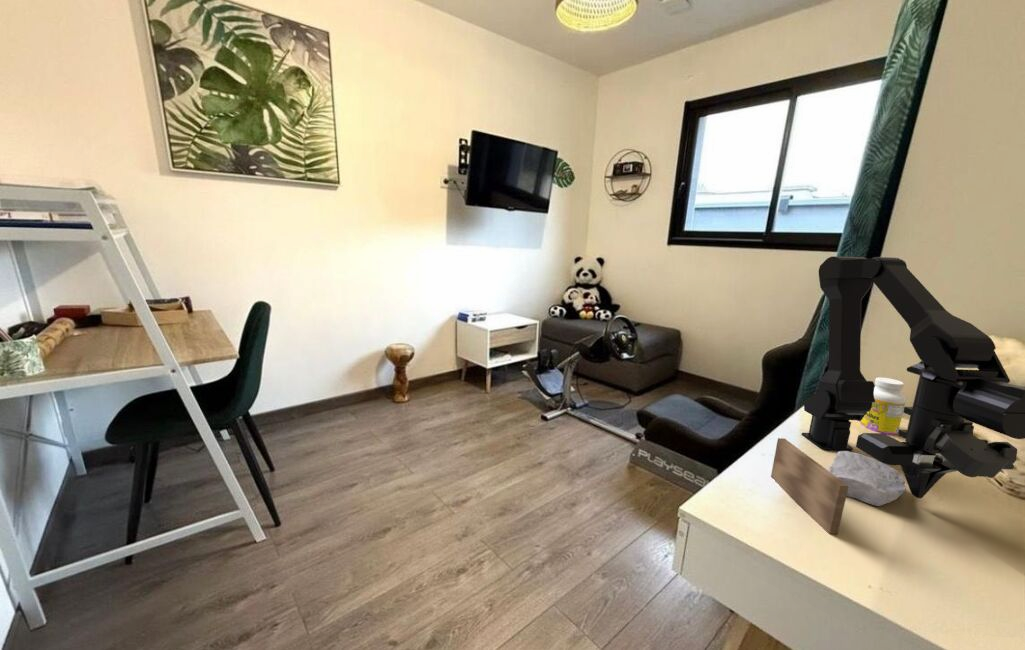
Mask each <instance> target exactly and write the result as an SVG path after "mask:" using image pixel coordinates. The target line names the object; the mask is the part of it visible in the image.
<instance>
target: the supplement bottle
mask: <svg viewBox="0 0 1025 650" xmlns="http://www.w3.org/2000/svg"><path fill="white" fill-rule="evenodd" d="M874 385H875V387H874V399H875V402H872V408H871V410H870V411H868V412H867V413H866V414H865V416H864V417H863V418H862V420H861V421H859V423H860V425H861V426H862V427H864V428H866V429H867V430H870V431H873V432H874V433H884V434H886V435H888V436H894V435H898V433H899V430H900V426H901V422H902V418H903V414H904V407H906V403H907V397H906V395H904V393H902V392H901V391H902V390H903V389H904V385H905V383H904V382H903V381H901V380H899V379H898V380H897V379H893V378H889V377H876V378H875V380H874Z"/></svg>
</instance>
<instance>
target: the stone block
mask: <svg viewBox="0 0 1025 650" xmlns="http://www.w3.org/2000/svg"><path fill="white" fill-rule="evenodd" d="M832 461H833V462H832V464H831V465H830V466H829V467H828V469H827V470H828V471H829V472H831V473H832V474H833V475H835V476H836V477H837V478H839V479H840V480H841V481H843V482H844V483H845V484H847V485H848V486H849V487H848V491H847V496H846V497H848V498H853V499H856V500H858V501H860V502H864V503H866V504H869V505H872V506H877V507H881V506H883V505H885V504H889V503H891V502H892V501H895V500H897V499H898V498H900V497H901V495H903V494H904V493H905V492H906V491H907V486H906V484H905V483H906V482H905V480H904V476H903V474H902V473H901V472H899V471H898V470H896V469H895V468H894V467H892V465H888V464H884V463H882V462H880V461H879V460H877V459H875V458H874V457H871V456H866V455H865V454H862V453H858V452H851V451H849V450H839V451H837V453H836V455H835V456H834V458H833V460H832Z"/></svg>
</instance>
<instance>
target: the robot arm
mask: <svg viewBox="0 0 1025 650" xmlns="http://www.w3.org/2000/svg"><path fill="white" fill-rule="evenodd" d="M818 278H819V279H818V280H819V288H820V289H821V291H822V293H824V295H825V296H826V298H827V300H828V301H829V307H828V309H829V310H828V314H829V315H828V318H829V319H828V366H827V367H828V368H827V371H826V372H825V373H824V374H823V376H822V377H821V379H820V380H819V381H818V386H817V392H816V393H815V394H813V395H811V396H809V397H808V398H806V399H805V400H803V409H804V411H805V412H806V413H807V414H809V415H811V420H810V424H809V425H810V426H809V431H808V432H801V434H800V435H801V436H802V437H804V438H805V439H806V440H809V442H811V443H812V444H814V445H815V446H817V447H819V448H820V449H821V450H832V451H833V450H834V451H838V450H839V451H853V450H854V447H852V446H851V445H850V444H848V443H849V439H850V435H851V424H852V422H851V421H858V422H860V421H861V420H862V418H863V417H864V416H865V414H866V413H867V412H868V411H870V410H871V408H872V402H875V399H874V387H875V386H876V385H875V381H872V380H867V379H866V378H865V377H864V375H863V373H862V372H861V352H862V351H861V347H862V345H861V342H862V341H861V339H862V337H861V335H862V333H861V332H862V330H861V329H862V300H863V298H864V297H865V296H866V294H867V293H868V292H869V290H870V289H871V287H872V284H873V283H874V285H875V286H876V287H877V288H878V289H879V291H880V292H881V293H882V294H883V296H884V297H885V298H886V300H887V301H888V302H889V303H890V304H891V305H892V307H893V308H894V309H895V310H896V312H897V313H898V314H899V315H900V317H901V318H902V319H903V320H904V321H905V323H906V324H907V326H908V327H909V330H910V332H909V333H910V334H909V342H910V343H911V346H912V347H913V350H914V351H915V353H916V355H917V357H918V358H919V360H920V362H918V363H916V364H913V365H911V366H908V367H906V371H907V372H909V373H910V374H914V375H916V376H917V375H918V376H919V378H918V381H917V386H916V390H915V394H914V399H913V403H912V406H905V407H904V410H903V414H906V415H908V416H909V420H908V424H907V429H899V430H898V433H897V436H899V437H901V438H903V439H905V441H900V440H898V439H896V438H894V437H892V436H891V435H888V434H884V433H879V432H863V433H861V434H860V433H859V434H858V436H857V440H856V443H855V448H857V450H860V451H862V452H863V453H865V454H867V455H868V456H869V457H871V458H874V459H875V460H877V461H879V462H881V463H884V464H886V465H888V466H900V468H901V470H902V472H903V475H904V477H905V480H906V483H907V485H908V488H909V491H910V493H911V494H912V496H913V497H915V499H916V498H917V499H923V497H925V496H926V494H927V493H928V492H929V491H930V490H931V489H932V488H933V487H934V486H935V485H936V484H937V482H938V481H940V480H941V479H942V478H943V477H944V476H945V475H946V474H948V473H949V474H950V473H955V472H958V473H960V474H961V475H963V476H965V477H969V478H976V477H985V478H990V479H993V478H995V477H996V476H997V475H998V474H999V473H1000V472H1001V471H1002V470H1014V469H1015V462H1017V456H1018V455H1017V454H1018V448H1017V447H1016V446H1014V445H1013V444H1011V443H1010V442H1008V441H993V442H989V440H987V438H986V439H984V438H983V439H981V438H979V437H977V436H975V435H974V429H975V426H974V425H973V424H976V425H978V426H980V427H983V428H986V429H989V430H991V431H994V432H996V433H999V434H1002V435H1004V436H1007V437H1009V438H1012V439H1016V440H1025V386H1017V385H1014V384H1010V382H1011V380H1010V377H1009V374H1007V372H1006V369H1005V367H1004V366H1003V364H1002V362H1001V360H1000V358H999V357H998V355H997V353H996V351H995V350H996V345H995V342H994V341H993V340H992V338H991V337H990V336H989V335H988V334H986V333H984V331H982V330H981V329H979V328H978V327H977V326H976V325H974V324H972V323H971V322H968V321H966V320H964V319H961V318H960V317H957V316H955V315H953V314H952V313H950V312H949V311H948V310H947V309H946V308H945V307H944V306H943V305H942V304H941V303H940V301H939V300H937V299H936V298H935V297H934V295H933V294H932V293H931V292H930V291H929V289H927V288H926V286H924V285H923V284H922V282H920V280H919V279H918V278H917V277H916V276H915V275H914V274H913V273H912V272H911V271H910V269H909V268H908V266H907V263H906V261H904V260H903V259H901V258H899V257H892V256H891V257H888V256H887V257H886V256H885V257H884V256H875V257H871V258H867V257H860V256H859V257H858V256H835V255H834V256H829V257H828V258H826V259H825V260H824V261H823V262H822V263H821V264H820V265H819V269H818Z"/></svg>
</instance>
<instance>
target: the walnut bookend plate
mask: <svg viewBox="0 0 1025 650" xmlns="http://www.w3.org/2000/svg"><path fill="white" fill-rule="evenodd" d="M770 477H771V479H772V480H773V479H774V480H775V481H774V480H773V481H774V482H775V483H776V484H777V485H778V484H779V485H778V486H779V487H780V488H781V489H782V490H783V491H784V492H785V493H786V494H787V495H788V497H790V498H791V499H792V500H793V502H794V503H796V504H797V505H798V507H800V508H801V509H802V510H803V511H804V512H805V513H806V514H808V515H809V517H811V518H812V519H813V520H814V521H815V522H816V523H817V524H818V525H819V526H820V527H821V528H822V529H823V530H824V531H826V532H827V533H828V534H829V535H838V534H839V529H840V525H841V521H842V517H843V512H844V507H845V504H846V499H847V497H848V496H847V491H848V487H849V486H848V485H847V484H845V483H844V482H843V481H841V480H840V479H839V478H837V477H836V476H835V475H833V474H832V473H831V472H829V471H828V469H827V468H825V467H824V466H822V465H821V464H820V463H818V462H817V461H816V460H815V459H813V458H812V457H811V456H809V455H808V454H806V453H805V452H804V451H802V450H801V449H799V447H796V445H795V444H793V443H792V442H790V441H789V440H787V438H784V437H783V438H780V437H779V438H777V442H776V447H775V452H774V458H773V462H772V469H771V473H770Z"/></svg>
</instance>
